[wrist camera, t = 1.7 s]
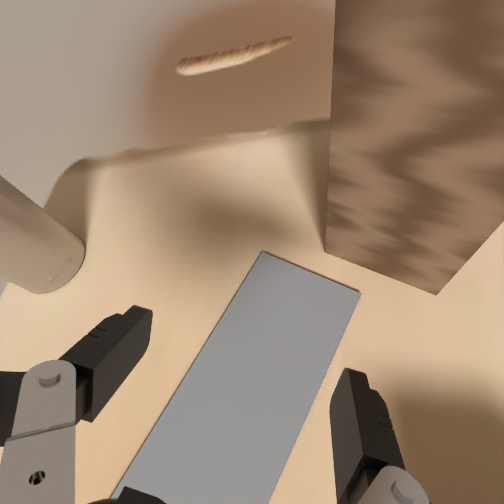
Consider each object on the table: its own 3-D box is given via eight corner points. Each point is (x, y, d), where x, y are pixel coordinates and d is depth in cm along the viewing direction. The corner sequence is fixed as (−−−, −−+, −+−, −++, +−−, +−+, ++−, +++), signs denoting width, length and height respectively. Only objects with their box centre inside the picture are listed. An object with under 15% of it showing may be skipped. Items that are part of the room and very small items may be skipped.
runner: (93, 529, 26) (89, 531, 26) (263, 253, 37) (262, 251, 36) (202, 650, 22) (199, 655, 21) (360, 295, 32) (361, 293, 32)
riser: (324, 252, 35) (350, -339, 8) (379, 147, 42) (498, -382, 14) (436, 295, 31) (1392, -761, 3) (479, 170, 37) (934, -551, 10)
